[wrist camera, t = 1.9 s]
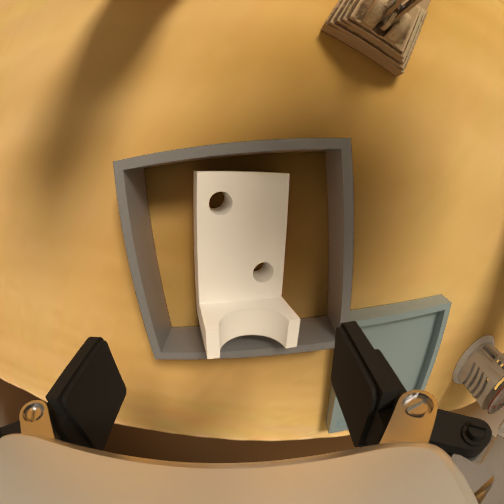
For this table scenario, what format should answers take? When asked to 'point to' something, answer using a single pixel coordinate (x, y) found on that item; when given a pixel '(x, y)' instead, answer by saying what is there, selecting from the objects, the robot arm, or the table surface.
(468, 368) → the french press
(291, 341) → the bracket
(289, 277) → the table surface
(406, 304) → the tray
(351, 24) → the banker's lamp
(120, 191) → the bin
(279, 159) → the table surface
